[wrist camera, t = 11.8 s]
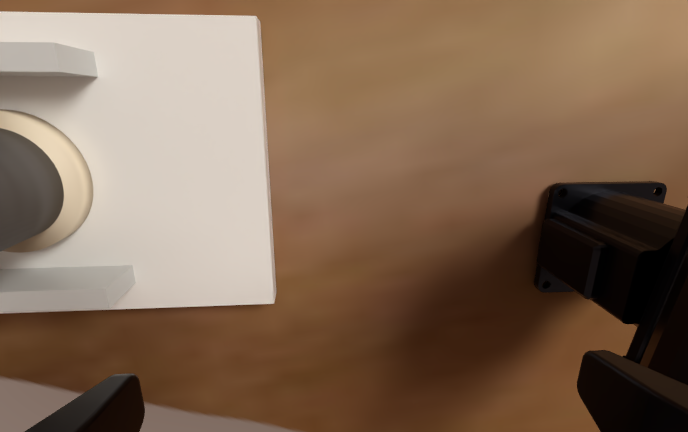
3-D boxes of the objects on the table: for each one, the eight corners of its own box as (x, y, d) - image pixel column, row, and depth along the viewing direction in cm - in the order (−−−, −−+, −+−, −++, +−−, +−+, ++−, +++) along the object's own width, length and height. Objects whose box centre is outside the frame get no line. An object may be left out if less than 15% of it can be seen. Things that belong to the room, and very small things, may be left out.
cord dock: (260, 21, 17) (245, 0, 13) (276, 292, 21) (268, 330, 17) (-139, 15, 16) (-271, -11, 12) (-41, 303, 20) (-118, 346, 16)
